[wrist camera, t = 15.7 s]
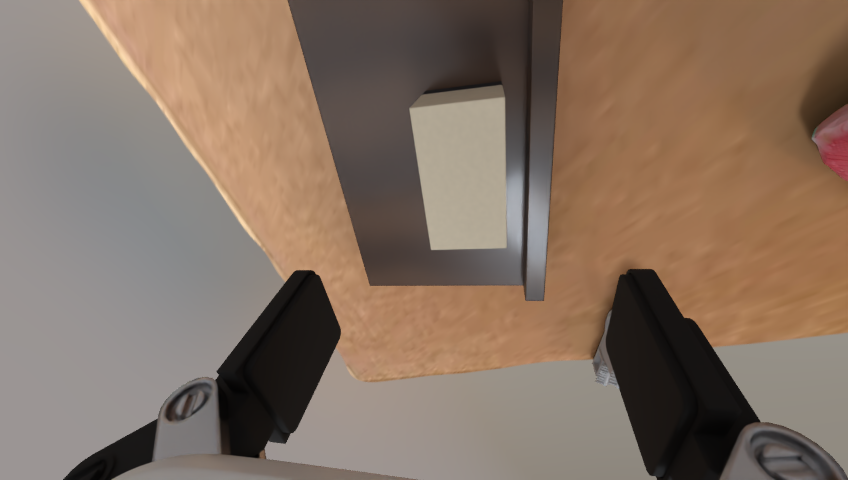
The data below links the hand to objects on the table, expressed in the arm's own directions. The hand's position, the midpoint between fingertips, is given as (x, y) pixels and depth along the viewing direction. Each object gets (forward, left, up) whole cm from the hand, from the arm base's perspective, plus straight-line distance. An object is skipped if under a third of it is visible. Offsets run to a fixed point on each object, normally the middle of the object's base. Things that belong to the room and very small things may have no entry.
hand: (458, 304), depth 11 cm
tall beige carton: (+1, -1, -16) cm, 16 cm away
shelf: (+1, -3, -20) cm, 20 cm away
